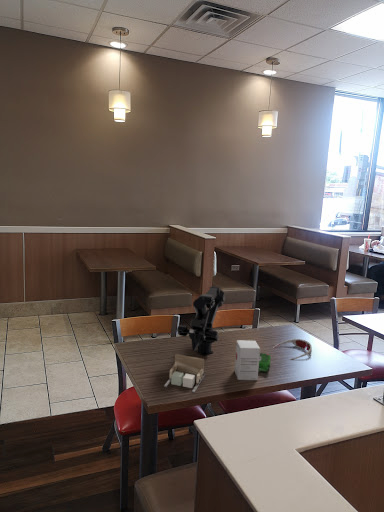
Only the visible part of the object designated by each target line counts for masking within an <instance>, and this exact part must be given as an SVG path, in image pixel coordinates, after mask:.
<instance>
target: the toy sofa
mask: <svg viewBox="0 0 384 512" xmlns="http://www.w3.org/2000/svg"><path fill="white" fill-rule="evenodd" d="M174 355H175V356H174V364H173V365H172V367H171V368H170V370H169V375H168V377H169V379H170V378H172V374H173V373H174V372H177V371H179V372H181V373H184V374H189V373H190V374H192V375H194V374H195V376H196V378H195V383H196V384H197V383H199V382H200V380H201V378H202V377H203V376H204V374H205V373H204V372H205V359H204V358H201V357H194V356H188V355H184V354H179V353H178V354H177V353H176V354H174ZM204 377H205V376H204ZM204 377H203V378H204ZM200 383H201V382H200Z"/></svg>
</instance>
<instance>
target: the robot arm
mask: <svg viewBox="0 0 384 512" xmlns="http://www.w3.org/2000/svg"><path fill="white" fill-rule="evenodd" d="M225 301H226V295H225V292H224V291H223V290H222V289H221V287H219V286H210V287H209V289H208V291H207V292H206V293H203V294H200V295H199V297H197V299H194V301H193V302H192V305H193V309H194V311H195V314H196V315H195V317H194V318H191V320H190V324H189V325H190V327H191V328H190V329H188V327H187V326H186V325H178V326H177V329H176V331H177V334H178V335H179V336H181V337H187V336H188V337H189V339H191V347H192V348H191V349H192V351H193V352H196V353H198V354H200V355H202V356H205V357H206V356H208V355H210V354H213V353H214V351H213V350H212V344H213V343H215V342H218V341H219V334H218V331H217V330H214V326H213V324H214V321H215V319H216V318H215V317H216V315H217V312H218V308H220V307H222V306H223V305H224V303H225Z"/></svg>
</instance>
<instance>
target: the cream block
mask: <svg viewBox="0 0 384 512" xmlns="http://www.w3.org/2000/svg"><path fill="white" fill-rule="evenodd" d="M195 383H196V375H194V374H189V373H184V377H183V383H182V387H185V388H188V389H193V388H194V387H195V386H194V385H196V384H195Z"/></svg>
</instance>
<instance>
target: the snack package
mask: <svg viewBox="0 0 384 512" xmlns="http://www.w3.org/2000/svg"><path fill="white" fill-rule="evenodd" d="M271 357H272V356H271V355H270V354H269V353H263V352H260V357H259V368H258V372H269V371H270V368H271Z"/></svg>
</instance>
